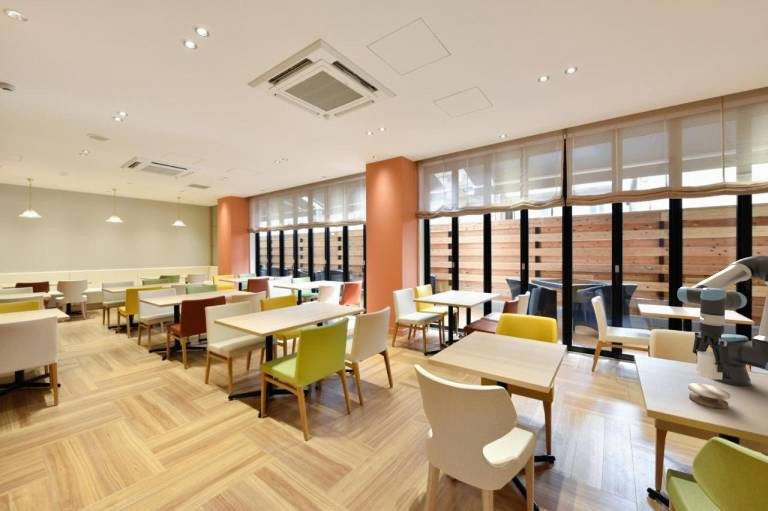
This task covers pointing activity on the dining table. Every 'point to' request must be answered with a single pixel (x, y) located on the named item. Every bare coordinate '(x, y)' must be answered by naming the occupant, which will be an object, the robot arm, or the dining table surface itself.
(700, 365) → the white cup
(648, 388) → the dining table surface
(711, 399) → the cake stand
